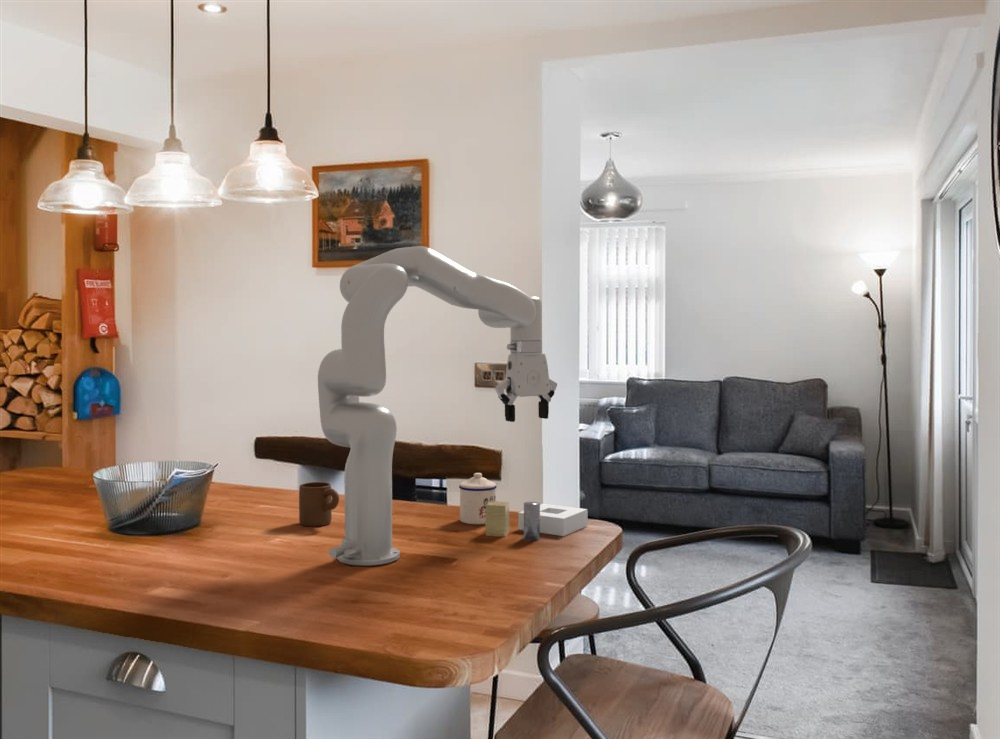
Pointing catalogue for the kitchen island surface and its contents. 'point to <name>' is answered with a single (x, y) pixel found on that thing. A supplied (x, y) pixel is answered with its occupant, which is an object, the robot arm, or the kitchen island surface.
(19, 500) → the kitchen island surface
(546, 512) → the block
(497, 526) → the square bit
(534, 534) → the round bit
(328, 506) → the mug
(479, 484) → the teacup with lid
